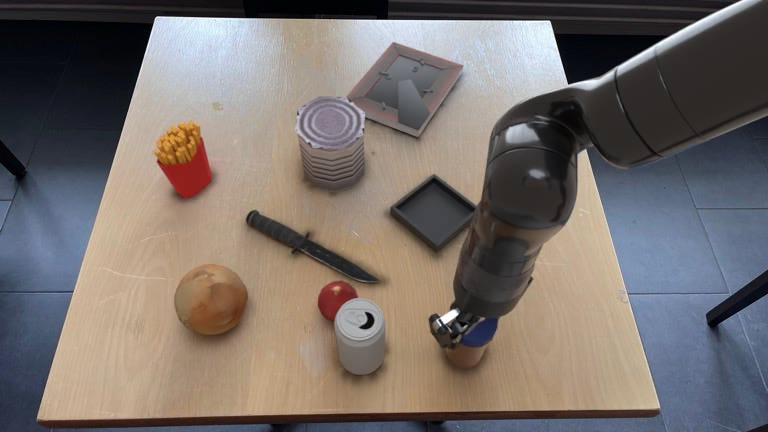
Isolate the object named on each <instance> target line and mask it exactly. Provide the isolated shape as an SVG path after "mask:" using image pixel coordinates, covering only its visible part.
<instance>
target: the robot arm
mask: <svg viewBox="0 0 768 432" xmlns="http://www.w3.org/2000/svg"><path fill="white" fill-rule="evenodd" d="M765 117H768V0H738V1H736V2H734V3H732V4H730V5H728V6H726V7H724V8H721V9H718V10H717V11H715V12H713V13H710V14H709V15H706V16H704V17H702V18H701V19H699V20H697V21H694V22H693V23H690V24H688V25H687V26H685V27H683V28H681V29H679V30H678V31H676V32H674V33H672V34H670V35H668V36H667V37H665V38H663V39H661V40H660V41H658V42H657V43H655V44H652V45H651V46H649V47H647V48H646V49H644V50H642V51H641V52H639V53H637V54H636V55H633V56H632V57H630V58H628V59H626V60H625V61H623V62H621V63H620V64H618V65H617V66H615V67H613V68H612V69H610V70H608V71H607V72H605V73H604V74H602V75H600V76H597V77H593V78H589V79H584V80H581V81H577V82H573V83H570V84H566V85H563V86H561V87H558V88H554V89H550V90H547V91H544V92H541V93H538V94H535V95H532V96H529V97H526V98H525V99H523V100H520V101H519V102H517V103H516V104H513V106H511V107H510V108H509V109H507V110H506V111H505V113H503V114H502V115H501V117H499V119H497V121H496V123H495V124H494V126H493V127H492V130H491V132H490V136H489V141H488V149H487V157H486V164H485V172H484V177H483V185H482V191H481V196H480V200H479V202H478V203H477V204H476V206H477V207H476V209H475V211H474V213H473V216H472V219H471V223H470V225H469V226H468V232H467V235H466V237H465V239H464V241H463V242H462V245H461V249H460V252H459V255H458V259H457V260H458V261H457V263H456V264H457V265H456V268H455V272H454V276H453V281H452V290H453V296H454V301H452V303H451V305H450V306H449V310H448V312H447V313H445V314H444V315H442V314H441V313H440V314H438V313H437V312H435V313H432V314H431V315H430V316H429V317H428V325H429V333H430V334H431V336H432V337H433V338H434V339H435V341H436V342H437V343H438V345H439V347H440V348H441V349H442V350H445V348H448V349H449V350H450V349H452V350H453V351H455V350H456V349H458V347H459V344H460V342H461V339H462V337H463V335H466V334H468V333H471V332H472V331H473V330H474V328H475V327H476V326H477V325H478V324H479V322H481V321H484V320H485V318H497V319H498V322H499V320H500V318H502V317H504V316H506V315H508V314H509V313H511V312H513V310H514V309H515V308H516V306H518V304H519V302H520V300H521V299H522V297H523V296H524V294H525V293H526V291H527V290H528V288H529V287H530V285H531V284H532V283H533V281H534V278H533V276H532V275H533V273H534V269H535V265H536V262H537V259H538V256H539V254H540V253H541V250H542V248H543V247H544V245H545V244H546V243H547V242H549V241H550V240H551V239H552V238H553V237H554V236H555V235H556V234H558V233H559V232H560V231H561V230H562V229H564V227H565V226H566V225H567V223H568V222H569V220H570V219H571V216H572V214H573V211H574V209H575V206H576V202H577V196H578V187H579V186H578V185H579V184H578V183H579V177H578V176H579V175H578V174H579V172H578V171H579V170H578V169H579V167H578V165H579V164H578V162H579V161H578V160H579V159H578V156H579V154H581V153H582V152H583V151H585V150H587V149H589V148H592V147H594V148H595V150H596V151H597V152H598V154H599V155H600V156H601V157H602V158H603V160H605V161H606V162H607V163H608V164H610V165H611V166H613V167H615V168H617V169H620V170H627V171H628V170H636V169H637V170H638V169H640V168H643V167H646V166H650V165H652V164H655V163H657V162H660V161H662V160H664V159H667V158H670V157H673V156H675V155H677V154H679V153H682V152H683V151H686V150H689V149H691V148H693V147H696V146H699V145H701V144H703V143H706V142H708V141H711V140H713V139H715V138H717V137H720V136H722V135H724V134H726V133H729V132H731V131H734V130H736V129H739V128H741V127H743V126H746V125H748V124H750V123H752V122H755V121H758V120H760V119H762V118H765ZM467 322H468V323H469V324H468V323H467ZM453 324H454V325H455V326H456V328H457V329H458V331H457V330H456V329H455V328H454V326H453Z"/></svg>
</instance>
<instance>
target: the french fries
mask: <svg viewBox="0 0 768 432" xmlns="http://www.w3.org/2000/svg"><path fill="white" fill-rule="evenodd" d="M170 128H171V129H170ZM170 128H167V129H165V131H166V133H164V134H163V135H161V136H159V137H158V140H156V141H155V143H156V144H155V145H156V147H157V148H156V149H154V150H153V151H152V152H153V154H154V155H155V157H156V158H157V160H156V164H157V165H158V166H159V168H160V169H161V171H162V173H163V174H164V175H165V177H166V178H167V180H168V181H169V183H170V184H171V186H172V187H173V188H174V190H175V192H176V193H177V194H179V196H181V197H182V198H184V199H186V198H192V197H194V196H196V195H198V193H200V192H201V191H203V189H205V188H206V187H207V186H208V185H209V184H210V183H211V182H212V177H213V175H212V170H211V167H210V162H209V158H208V155H207V150H206V146H205V142H204V138H203V136H201V125H200V124H199V123H198V122H194V121H193V120H192V119H191V120H189V121H188V123H187V121H184V122H183V123H181V122H180V123H178V124H177V126H175V125H174V124H173V125H172V126H170ZM157 149H158V150H157Z"/></svg>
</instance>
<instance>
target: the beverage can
mask: <svg viewBox="0 0 768 432" xmlns="http://www.w3.org/2000/svg"><path fill="white" fill-rule="evenodd" d="M333 324H334V332H335V339H336V346H337V352H338V358H339V361H340V364H341V365H342V367H343V368H344V369H345V370H346V371H348V372H349V373H351V374H354V375H357V376H365V375H366V376H367V375H369V374H372V373H374V372H375V371H376V370H378V369H379V368H380V366H381V365H382V364H383V362H384V358H385V351H386V349H385V348H386V316H385V314H384V312H383V310H382V309H381V308H380V306H379V305H378V304H377V303H376V302H374V301H373V300H371V299H368V298H366V297H365V298H364V297H358V298H355V299H352V300H349V301H347V302H346V303H345V304H343V305H342V307H341V308H340V309H339V311H338V313H337V314H336V317H335V322H333Z"/></svg>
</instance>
